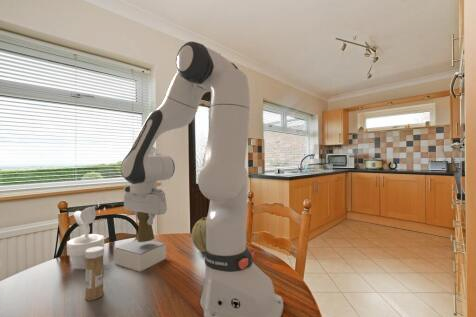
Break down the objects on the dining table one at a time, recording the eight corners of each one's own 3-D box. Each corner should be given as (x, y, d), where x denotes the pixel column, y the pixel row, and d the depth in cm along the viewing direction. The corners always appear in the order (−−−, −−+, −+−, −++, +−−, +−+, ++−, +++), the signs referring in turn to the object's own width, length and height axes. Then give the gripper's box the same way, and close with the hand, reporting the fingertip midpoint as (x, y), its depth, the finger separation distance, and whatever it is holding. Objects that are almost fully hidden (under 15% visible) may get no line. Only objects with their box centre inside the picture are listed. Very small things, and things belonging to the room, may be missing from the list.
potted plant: (110, 264, 84) (110, 197, 84) (73, 277, 75) (73, 201, 75) (95, 256, 91) (95, 194, 92) (60, 266, 82) (61, 198, 82)
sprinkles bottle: (104, 297, 63) (104, 249, 64) (85, 303, 61) (85, 253, 61) (103, 289, 67) (103, 244, 67) (84, 295, 64) (84, 248, 65)
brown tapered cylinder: (148, 242, 83) (146, 212, 84) (134, 242, 85) (132, 212, 85) (157, 237, 89) (155, 209, 90) (144, 237, 90) (142, 210, 91)
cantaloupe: (233, 249, 98) (232, 215, 98) (210, 261, 86) (209, 222, 86) (208, 242, 106) (208, 210, 107) (184, 252, 94) (184, 217, 95)
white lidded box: (165, 258, 89) (165, 243, 89) (139, 271, 78) (139, 254, 78) (141, 252, 95) (141, 238, 95) (114, 263, 85) (114, 247, 85)
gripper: (170, 188, 86) (170, 225, 85) (134, 186, 95) (134, 218, 95) (157, 190, 80) (157, 229, 80) (120, 187, 90) (120, 222, 89)
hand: (144, 223), depth 87 cm, fingers closed on brown tapered cylinder, 4 cm apart
